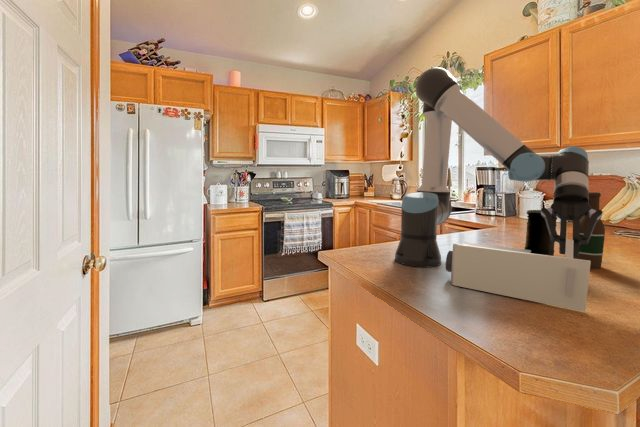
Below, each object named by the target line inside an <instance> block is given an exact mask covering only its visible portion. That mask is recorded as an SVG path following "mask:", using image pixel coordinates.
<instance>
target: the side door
mask: <svg viewBox="0 0 640 427" xmlns="http://www.w3.org/2000/svg"><path fill="white" fill-rule="evenodd" d="M462 244H463V243H461V244H460V243H452V251H453V254H452V272H450V273H451V276H450V285H452V286H456V287H462V288H465V289H466V288H467V289H470V290H477V291H480V292H481V291H482V292H486V293H491V294H495V295H500V296H505V297H511V298H515V299H521V300H524V301H530V302H535V303H538V304H539V303H540V304H545V305H549V306H554V307H560V308H564V309H570V310H575V311H580V312H584V313H586V309H587V302H588V292H589V291H588V290H589V282H590V274H591V273H590V272H591V271H590V270H591V269H590V264H591V261H589V260H581V259H573V258H565V256H557V255H556V256H555V255H554V256H549V255H541V254H533V253H525V252H518V251H510V250H502V249H494V248H486V247H478V246H470V245H462Z"/></svg>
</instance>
